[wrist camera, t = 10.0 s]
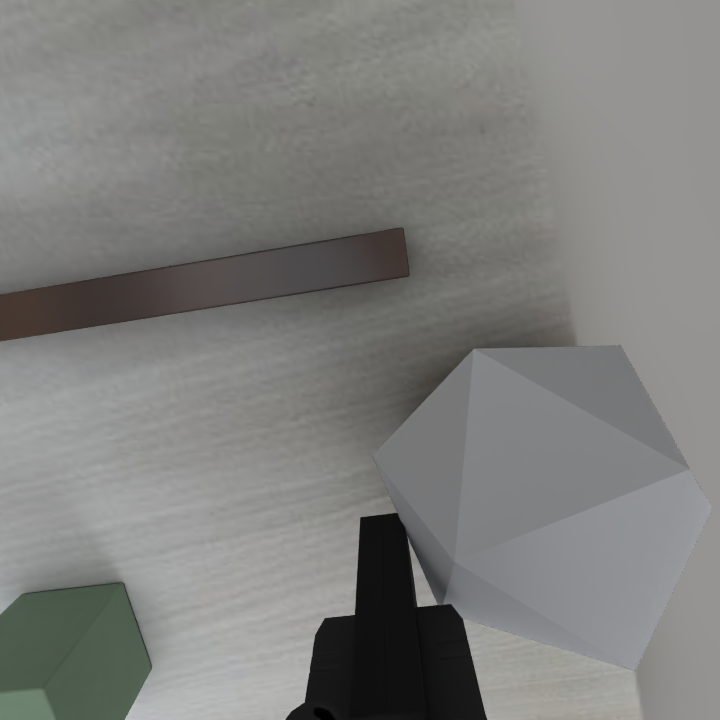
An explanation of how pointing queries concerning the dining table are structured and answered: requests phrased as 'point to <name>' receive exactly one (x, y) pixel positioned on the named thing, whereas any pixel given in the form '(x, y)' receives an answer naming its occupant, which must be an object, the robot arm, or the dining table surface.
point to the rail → (205, 284)
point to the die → (547, 498)
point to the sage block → (71, 655)
